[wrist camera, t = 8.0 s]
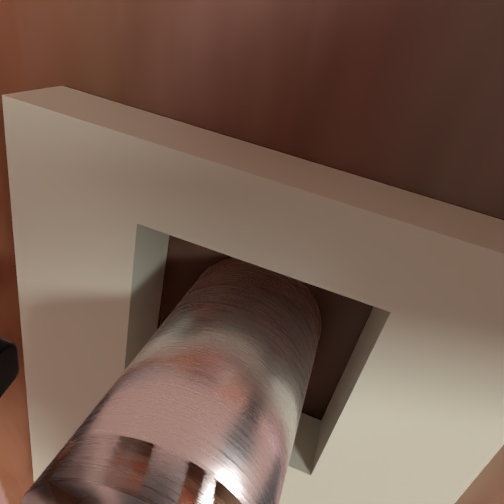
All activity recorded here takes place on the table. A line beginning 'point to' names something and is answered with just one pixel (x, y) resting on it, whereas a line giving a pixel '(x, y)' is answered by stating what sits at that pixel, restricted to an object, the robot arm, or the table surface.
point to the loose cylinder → (200, 401)
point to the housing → (266, 256)
